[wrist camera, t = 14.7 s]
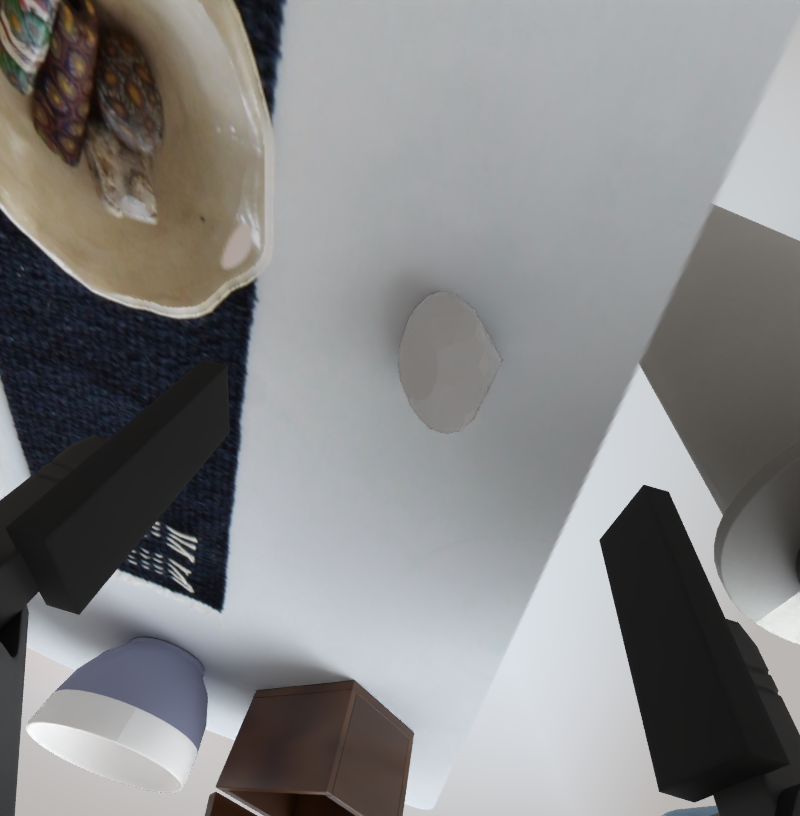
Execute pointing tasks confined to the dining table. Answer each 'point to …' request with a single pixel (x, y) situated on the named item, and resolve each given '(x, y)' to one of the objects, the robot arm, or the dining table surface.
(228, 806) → the lid
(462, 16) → the dining table surface
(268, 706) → the chest
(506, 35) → the dining table surface
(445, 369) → the grey rounded piece
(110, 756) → the bowl
